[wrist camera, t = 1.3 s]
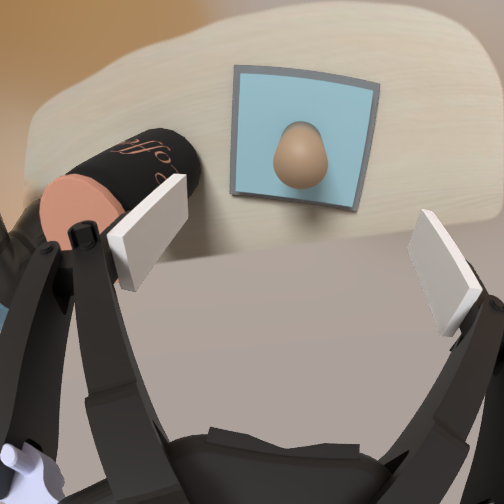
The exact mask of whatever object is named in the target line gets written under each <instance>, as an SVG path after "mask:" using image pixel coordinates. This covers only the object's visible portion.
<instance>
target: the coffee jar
mask: <svg viewBox="0 0 504 504" xmlns="http://www.w3.org/2000/svg"><path fill="white" fill-rule="evenodd" d="M173 174H186V179H187V199H188V198H189V197H190V196H191V195H192V193H193V191H194V190H195V188H196V186H197V185H198V180H199V175H200V168H199V160H198V157H197V155H196V153H195V150H194V148H193V146H192V145H191V144H190V143H189V142H188V141H187V140H186V139H185V137H183V136H181V135H180V134H178V133H176V132H175V131H173V130H168V129H163V128H157V129H149V130H147V131H145V132H142V133H140V134H138V135H136V136H134V137H132V138H129V139H127V140H125V141H123V142H121V143H119V144H117V145H115V146H113V147H111V148H109V149H107V150H105V151H103V152H102V153H100V154H98V155H96V156H94V157H92V158H90V159H89V160H87V161H85V162H83V163H81V164H80V165H78V166H76V167H75V168H73V169H72V170H71V171H69V172H68V173H66V174H65V175H64V176H61V177H59V178H57V179H55V180H54V181H53V182H51V183H50V184H49V185H48V186H47V187H46V189H45V191H44V193H43V195H42V197H41V202H40V212H39V213H40V219H41V225H42V229H43V232H44V234H45V237H46V239H47V242H49V241H57V242H58V243H59V244H60V247H61V250H72V247H71V244H70V240H69V237H68V234H67V232H68V229H69V228H70V227H71V226H73V225H74V224H76V223H78V222H81V221H85V220H93V221H95V222H96V223H97V226H98V230H99V234H101V233H102V232H103V231H104V230H105V229H106V228H107V227H108V226H110V224H111V223H112V222H113V221H115V219H116V218H117V217H119V216H120V215H121V214H123V213H125V212H127V211H129V210H131V211H132V210H133V209H134V208H135V207H136V206H137V205H138V204H139V203H140V202H142V201H143V200H144V199H145V198H146V197H147V196H148V195H149V194H151V193H152V192H153V191H154V190H155V189H156V188H157V187H159V186H160V185H161V184H162V183H163V182H164V181H166V180H167V179H168V178H169V177H170V176H172V175H173ZM118 282H119V280H118V279H117V280H116V282H115V283H118Z"/></svg>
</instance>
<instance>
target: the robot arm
mask: <svg viewBox="0 0 504 504" xmlns="http://www.w3.org/2000/svg"><path fill="white" fill-rule="evenodd" d="M40 202H41V199H39V200H36V201H34V202H33V203H32V204H30V205H29V206H28V207H27V208H26V209H25V210H24V212H23V213H22V215H21V216H20V218H19V219H18V221H17V223H16V224H15V226H14V228H13V229H12V230H11V231H10V232H9V233H8V232H7V230H6V227H5V225H4V223H3V220H2V217H1V214H0V331H1V333H0V502H3V503H5V504H439V503H440V502H441V500H442V499H443V497H444V496H445V494H446V493H447V491H448V489H449V488H450V486H451V484H452V483H453V481H454V479H455V477H456V476H457V474H458V472H459V470H460V468H461V467H462V464H463V463H464V460H465V459H466V457H467V454H468V452H469V449H470V447H469V444H467V443H466V442H465V441H466V439H467V436H468V434H469V432H470V430H471V428H472V425H473V423H474V421H475V419H476V416H477V414H478V411H479V408H480V406H481V404H482V401H483V399H484V396H485V402H484V409H483V415H482V422H481V427H480V432H479V437H478V441H477V446H476V450H475V454H474V458H473V462H472V465H471V469H470V473H469V476H468V479H467V482H466V485H465V488H464V491H463V495H462V498H461V502H460V504H504V303H503V302H502V301H501V300H500V299H499V298H497V297H495V296H493V295H489V294H488V292H487V290H486V289H485V287H484V285H483V283H482V281H481V280H480V279H479V276H478V275H477V274H476V271H475V270H474V268H473V267H472V265H471V264H470V263H469V262H468V261H467V260H466V259H465V258H464V257H463V255H462V254H461V252H460V251H459V249H458V247H457V246H456V244H455V243H454V241H453V240H452V238H451V237H450V236H449V234H448V233H447V231H446V230H445V228H444V227H443V225H442V224H441V223H440V221H439V220H438V218H437V217H436V216H435V214H434V213H433V212H432V211H428V210H424V209H421V211H420V214H419V217H418V220H417V223H416V226H415V229H414V232H413V235H412V238H411V241H410V243H409V246H408V248H407V252H408V254H409V256H410V258H411V261H412V263H413V265H414V268H415V270H416V273H417V275H418V278H419V280H420V283H421V285H422V288H423V290H424V293H425V296H426V298H427V301H428V304H429V307H430V309H431V312H432V315H433V318H434V321H435V324H436V327H437V330H438V333H439V336H446V337H453V335H454V334H455V332H456V331H457V329H458V328H460V330H461V333H462V334H461V335H460V337H459V338H458V339H457V341H456V342H455V344H454V345H453V346H452V347H451V349H450V351H452V352H451V354H450V356H449V358H448V360H447V362H446V364H445V365H444V367H443V369H442V371H441V373H440V375H439V377H438V378H437V380H436V382H435V384H434V385H433V387H432V389H431V390H430V392H429V394H428V395H427V397H426V398H425V400H424V402H423V403H422V405H421V406H420V408H419V409H418V411H417V412H416V414H415V415H414V417H413V418H412V420H411V421H410V423H409V424H408V426H407V427H406V428H405V430H404V431H403V432H402V434H401V435H400V437H399V438H398V439H397V441H396V442H395V443H394V445H393V446H392V447H391V448H390V450H389V451H388V452H387V453H386V454H385V455H384V456H383V457H382V458H380V459H379V460H378V461H377V460H376V459H374V458H372V457H370V456H368V455H365V454H363V453H359V446H360V445H359V444H329V443H323V444H318V445H311V446H306V447H298V448H290V449H284V448H281V447H278V446H275V445H273V444H270V443H268V442H265V441H262V440H260V439H258V438H255V437H253V436H250V435H248V434H243V433H238V432H233V431H228V430H223V429H218V428H214V427H210V429H209V432H208V434H201V435H191V436H187V437H183V438H180V439H176V440H174V441H172V442H169V439H168V437H167V435H166V433H165V431H164V430H163V427H162V426H161V424H160V421H159V419H158V417H157V415H156V412H155V410H154V408H153V405H152V403H151V400H150V398H149V395H148V392H147V390H146V387H145V385H144V382H143V379H142V377H141V374H140V371H139V368H138V365H137V362H136V360H135V357H134V354H133V351H132V347H131V345H130V341H129V338H128V335H127V332H126V328H125V325H124V321H123V318H122V314H121V310H120V307H119V303H118V299H117V295H116V291H115V288H114V285H113V284H114V283H115V282H116V280H117V279H118V280H119V283H120V287H121V289H124V290H128V291H132V292H136V291H137V289H138V288H139V287H140V285H141V284H142V282H143V281H144V279H145V278H146V276H147V275H148V273H149V272H150V271H151V269H152V268H153V266H154V265H155V263H156V262H157V261H158V259H159V258H160V256H161V255H162V254H163V252H164V251H165V249H166V248H167V247H168V245H169V244H170V242H171V241H172V240H173V238H174V237H175V236H176V234H177V233H178V232H179V230H180V229H181V228H182V226H183V225H184V223H185V222H186V221H187V220H188V200H187V179H186V174H173V175H172V176H170V177H169V178H168V179H167V180H166V181H164V182H163V183H162V184H161V185H160V186H159V187H157V188H156V189H155V190H154V191H153V192H152V193H151V194H149V195H148V196H147V197H146V198H145V199H144V200H143V201H142V202H140V203H139V204H138V205H137V206H136V207H135V208H134V209H133V210H132V211H131V210H129V211H127V212H125V213H123V214H121V215H120V216H119V217H117V218H116V219H115V221H113V222H112V223H111V224H110V226H108V227H107V228H106V229H105V230H104V231H103V232H102V233H101V234H99V230H98V226H97V223H96V222H95V221H93V220H85V221H81V222H78V223H76V224H74V225H73V226H71V227H70V228H69V229H68V232H67V234H68V237H69V240H70V244H71V247H72V250H61V247H60V244H59V243H58V242H57V241H49V242H47V239H46V237H45V234H44V232H43V229H42V225H41V219H40V213H39V212H40ZM74 302H75V310H76V320H77V328H78V336H79V343H80V350H81V357H82V362H83V368H84V373H85V378H86V383H87V388H88V393H89V395H88V397H86V398H85V408H86V412H87V416H88V420H89V424H90V428H91V431H92V435H93V438H94V442H95V445H96V448H97V451H98V454H99V457H100V461H101V463H102V466H103V469H104V472H105V475H106V477H107V478H106V479H103V480H101V481H100V482H98V483H96V484H93V485H91V486H89V487H87V488H85V489H83V490H81V491H79V492H76V493H74V494H72V495H70V496H67V497H65V495H64V494H63V491H62V487H63V486H64V483H65V482H64V477H63V476H62V474H61V472H60V469H59V467H58V465H57V464H56V457H57V449H58V437H59V436H58V435H59V408H60V395H61V383H62V373H63V365H64V357H65V351H66V344H67V338H68V332H69V326H70V321H71V316H72V311H73V306H74ZM485 393H486V394H485Z"/></svg>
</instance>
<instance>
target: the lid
mask: <svg viewBox="0 0 504 504" xmlns="http://www.w3.org/2000/svg"><path fill="white" fill-rule="evenodd" d="M372 96H373V91H372V90H368V89H364V88H359V87H354V86H349V85H344V84H338V83H333V82H326V81H320V80H313V79H305V78H297V77H288V76H277V75H264V74H244V73H241V74H240V93H239V115H238V138H237V163H236V191H239V192H248V193H257V194H265V195H273V196H281V197H289V198H296V199H303V200H310V201H317V202H324V203H330V204H336V205H343V206H349V207H352V206H353V202H354V197H355V193H356V188H357V183H358V178H359V173H360V168H361V163H362V158H363V153H364V147H365V142H366V136H367V130H368V124H369V117H370V110H371V104H372Z"/></svg>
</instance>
